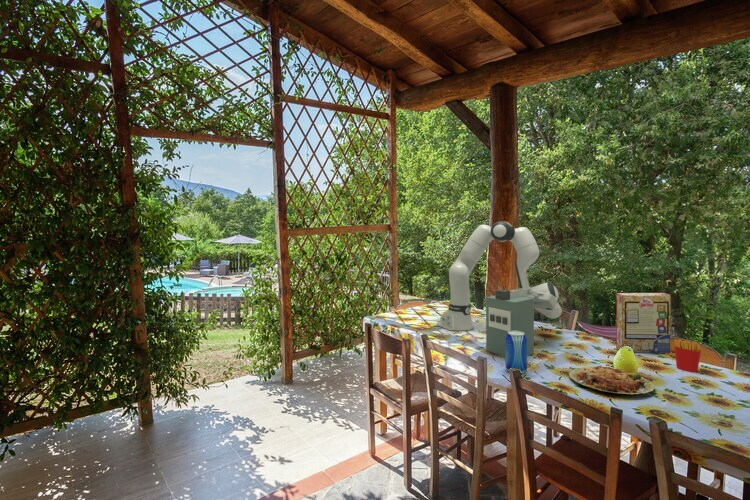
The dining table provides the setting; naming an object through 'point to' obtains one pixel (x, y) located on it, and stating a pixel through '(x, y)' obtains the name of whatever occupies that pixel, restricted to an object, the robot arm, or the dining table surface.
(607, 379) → the rice dish
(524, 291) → the lever bar
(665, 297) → the board game box
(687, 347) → the french fries
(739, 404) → the dining table surface
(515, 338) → the beer can
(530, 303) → the switch cabinet
